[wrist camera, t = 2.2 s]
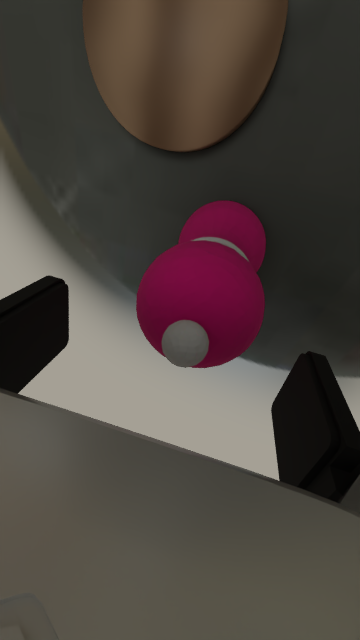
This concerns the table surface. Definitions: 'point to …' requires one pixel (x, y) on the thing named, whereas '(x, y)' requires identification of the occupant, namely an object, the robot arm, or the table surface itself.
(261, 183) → the table surface
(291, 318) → the table surface
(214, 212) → the pepper mill
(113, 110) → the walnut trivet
